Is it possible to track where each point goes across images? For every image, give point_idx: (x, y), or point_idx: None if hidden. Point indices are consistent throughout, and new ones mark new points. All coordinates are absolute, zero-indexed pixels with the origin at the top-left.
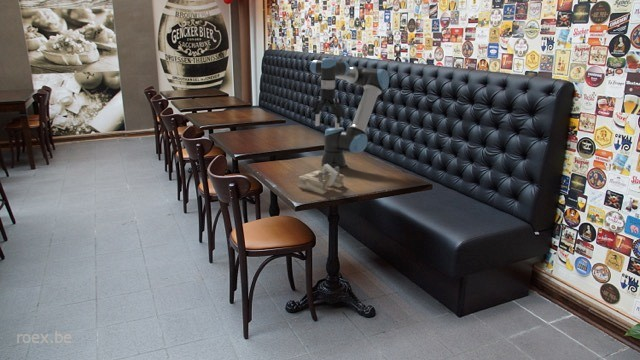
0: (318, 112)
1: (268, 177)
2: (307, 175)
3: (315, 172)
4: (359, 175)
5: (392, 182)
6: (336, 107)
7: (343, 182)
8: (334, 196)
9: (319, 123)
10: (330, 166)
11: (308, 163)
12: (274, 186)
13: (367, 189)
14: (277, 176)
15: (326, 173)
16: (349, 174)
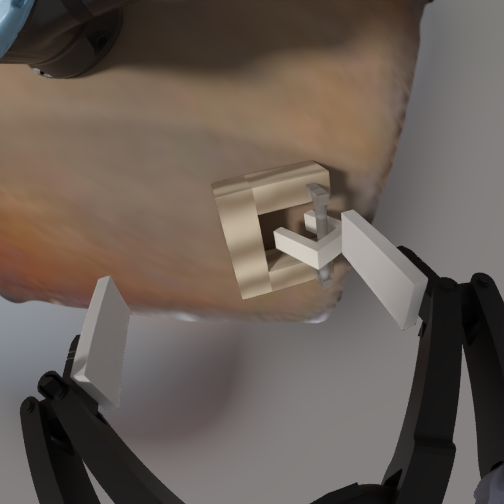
0: (81, 402)
1: None
2: (251, 275)
3: (238, 236)
4: (254, 25)
5: (377, 18)
6: (476, 415)
7: (316, 163)
8: None
9: (106, 290)
10: (329, 244)
11: (13, 116)
12: (191, 319)
13: (376, 125)
14: None
15: None
16: (219, 45)
